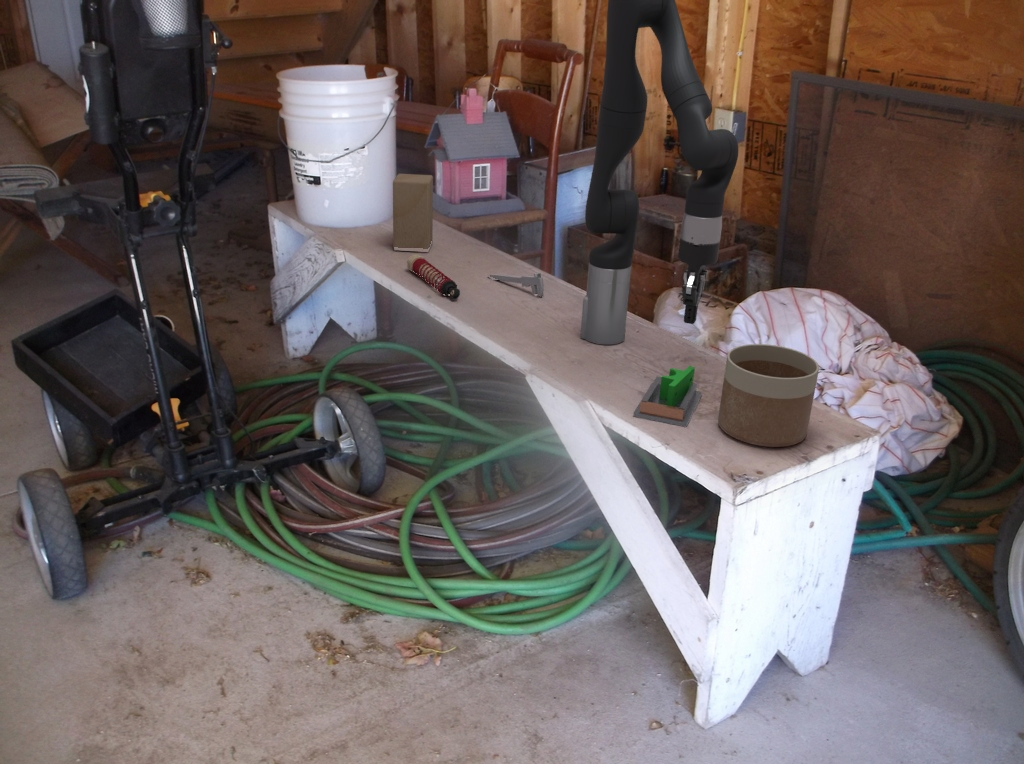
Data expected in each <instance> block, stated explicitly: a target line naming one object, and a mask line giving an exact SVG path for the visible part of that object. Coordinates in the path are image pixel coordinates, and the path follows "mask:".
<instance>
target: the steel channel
mask: <svg viewBox="0 0 1024 764" xmlns="http://www.w3.org/2000/svg"><path fill="white" fill-rule="evenodd" d="M661 377H662V376H659V375H657V376H656V377H655V379H654V380H653V382H652V383H651V384H650V385H649V387H648V389H647V390H646V392H645V394H644V395H643V396H642V399H641V400H640V402H639V404H638V405H637V406H636V408H635V410H634V411H633V415H632V417H634V416H636V417H635V418H639V417H640V418H639V419H643V420H648V421H649V420H650V421H655V422H661V423H665V424H669V425H675V426H681V427H688V424H689V423H690V422H691V418H692V417H693V414H694V413H695V410H696V408H697V407H698V404H699V402H700V400H701V398H702V396H703V391H700V390H697V389H698V383H695V382H693V383H692V384H691V386H690V388H689V390H688V392H687V394H686V395H685V396H684V397H683V398H682V399H681V400H679V401H678V402H677V403H676V404H675V405H674V406H667V405H666V404H667V400H665V399H662V398H659V395H660V386H661Z"/></svg>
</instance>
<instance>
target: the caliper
mask: <svg viewBox="0 0 1024 764" xmlns="http://www.w3.org/2000/svg"><path fill="white" fill-rule="evenodd" d="M489 276H490V277H493V278H495V279H498V280H500V281H499V282H507V283H515V284H521V287H525V288H528V287H530V288H531V291H532V294H533V295H534V294H538V297H539V296H540V298H542V297H541V296H543V297H544V291H545V290H544V285H545V284H544V278H543V277H542V275H541V272H540V273H538V272H534V273H533V275H531V276H530V275H521V276H516V275H515V276H514V275H508V274H507V275H505V274H495V273H491V274H489Z"/></svg>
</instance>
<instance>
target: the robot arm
mask: <svg viewBox="0 0 1024 764" xmlns="http://www.w3.org/2000/svg"><path fill="white" fill-rule="evenodd" d="M642 28H643V29H644V28H645V29H646V28H650V30H652V32H653V34H654V36H655V37H656V40H657V41H658V43H659V47H660V53H661V54H660V55H661V68H660V84H661V89H662V92H663V96H664V98H665V100H666V102H667V104H668V106H669V109H670V110H671V113H672V115H673V117H674V119H675V121H676V129H677V135H678V139H679V144H680V146H679V147H680V150H681V154H682V156H683V158H684V160H685V162H686V163H687V164H688V166H689V167H691V168H692V169H694V170H695V171H701V173H700V176H699V177H698V178H697V179H696V180H694V181H692V182H691V183H689V185H688V187H687V190H686V198H685V204H684V205H685V206H684V213H683V218H682V222H681V229H680V235H679V236H680V238H679V245H678V253H677V254H678V255H677V258H678V260H679V261H680V262H682V263H683V264H686V265H688V266H687V267H686V270H684V271H683V279H682V280H683V281H684V283H683V284H682V286H681V291H682V292H681V293H682V304H683V305H685V306H684V307H685V308H684V315H683V322H684V323H685V324H689V325H694V324H695V323H696V321H697V318H698V317H697V316H698V308H699V304H700V303H701V298H702V297H703V292H704V289H705V285H706V279H707V278H708V272H709V271H708V269H706V267H709V266H713V265H715V264H716V263H717V262H718V258H719V252H720V244H721V237H722V230H723V229H722V228H723V213H724V203H725V197H726V196H725V194H726V192H727V189H728V187H729V185H730V182H731V180H732V178H733V174H734V172H735V168H736V166H737V163H738V157H739V144H738V139H737V138H736V136H735V134H734V133H733V132H732V131H730V130H729V129H725V128H718V129H709V128H708V125H707V121H706V120H707V119H708V118H709V117H710V116H711V115H712V112H713V104H712V103H711V100H710V97H709V95H708V92H707V90H706V87H704V84H703V82H702V80H701V78H700V75H699V74H698V71H697V69H696V66H695V65H694V61H693V58H692V55H691V52H690V49H689V45H688V41H687V38H686V34H685V30H684V27H683V25H682V19H681V18H680V13H679V10H678V7H677V2H676V0H608V1H607V12H606V47H605V49H606V50H605V64H604V73H603V74H604V75H603V83H602V91H601V98H600V103H599V110H598V112H599V114H598V121H597V122H598V123H597V134H596V145H595V152H594V153H595V154H594V160H593V167H592V172H591V178H590V181H589V187H588V193H587V196H586V197H587V198H586V202H585V203H586V204H585V214H584V218H585V219H584V220H585V227H586V229H587V230H588V232H590V233H592V234H605V235H606V234H613V235H614V234H615V235H614V236H613V237H612V238H611V239H609V240H608V241H606V242H604V243H601V244H598V245H597V246H594V247H593V248H591V250H590V251H589V255H588V258H589V259H588V270H587V282H586V283H587V286H586V295H585V296H584V297H583V301H582V310H581V311H582V313H581V314H582V315H581V325H580V326H581V327H580V338H579V339H584V340H586V341H588V342H590V343H593V344H598V345H608V346H609V345H610V346H611V345H617V344H620V343H622V342H624V340H625V337H626V336H625V335H626V327H627V326H626V325H627V315H628V306H629V305H628V304H629V293H630V286H631V285H630V283H631V273H632V263H633V262H632V261H633V256H634V251H635V243H636V235H637V230H638V225H639V215H640V200H639V196H638V194H637V192H636V191H635V190H633V189H622V188H621V189H616V188H615V189H610V188H609V187H610V183H611V182H612V181H611V180H612V177H613V175H614V174H615V172H616V170H617V168H618V167H619V165H620V164H621V162H622V161H623V160H624V159H625V157H627V156H628V155H629V153H630V152H631V151H632V149H633V148H634V147H635V145H636V144H637V143H638V141H639V140H640V138H641V136H642V134H643V132H644V128H645V122H646V114H647V108H648V94H647V90H646V86H645V83H644V80H643V79H642V76H641V73H640V70H639V68H638V65H637V59H636V48H637V37H638V32H639V29H642Z"/></svg>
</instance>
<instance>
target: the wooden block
mask: <svg viewBox="0 0 1024 764" xmlns="http://www.w3.org/2000/svg"><path fill="white" fill-rule="evenodd" d="M433 184H434V177H433V175H432V174H413V173H397V175H396V176H395V178H394V179H393V181H392V225H393V227H392V229H393V231H392V235H393V238H392V241H393V242H392V243H393V247H398V248H423V249H428V248H429V247H430V244H431V241H432V242H433V236H434V235H433V229H434V228H433V220H434V219H433V218H434V217H433V215H434V214H433V212H434V204H433V203H434V185H433ZM430 248H431V247H430Z"/></svg>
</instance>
